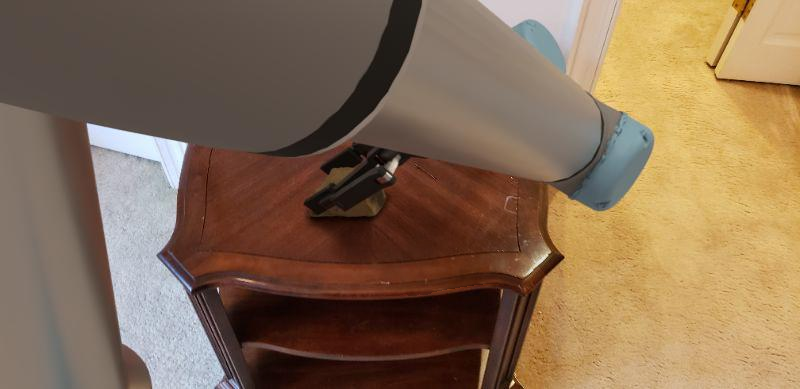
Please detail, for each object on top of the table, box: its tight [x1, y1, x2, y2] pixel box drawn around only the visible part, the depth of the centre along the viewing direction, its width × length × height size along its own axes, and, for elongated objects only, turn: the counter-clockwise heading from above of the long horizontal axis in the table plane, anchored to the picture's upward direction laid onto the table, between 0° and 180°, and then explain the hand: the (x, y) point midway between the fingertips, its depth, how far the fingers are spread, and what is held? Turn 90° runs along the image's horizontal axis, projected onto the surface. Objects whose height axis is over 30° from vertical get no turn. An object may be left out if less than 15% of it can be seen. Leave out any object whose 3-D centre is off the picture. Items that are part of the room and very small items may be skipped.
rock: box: [309, 167, 387, 218], centre depth 79 cm, size 11×9×10 cm
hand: (319, 189), depth 79 cm, fingers open, 6 cm apart
